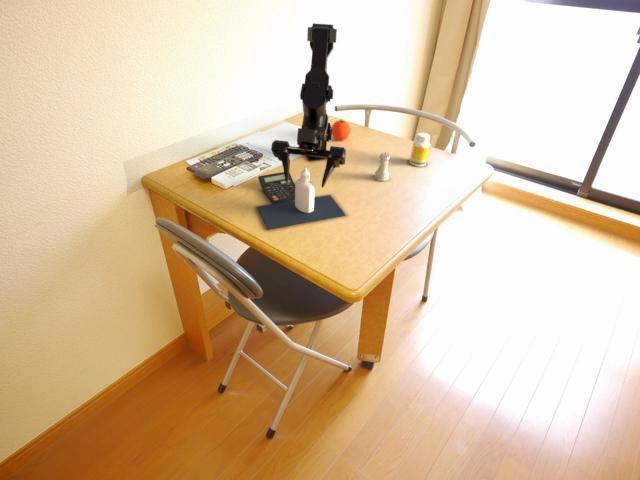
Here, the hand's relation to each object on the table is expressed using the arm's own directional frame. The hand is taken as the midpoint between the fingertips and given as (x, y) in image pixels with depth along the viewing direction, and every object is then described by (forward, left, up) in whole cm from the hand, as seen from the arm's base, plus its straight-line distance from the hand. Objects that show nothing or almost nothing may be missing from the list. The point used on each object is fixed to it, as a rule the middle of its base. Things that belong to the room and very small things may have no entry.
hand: (304, 184), depth 103 cm
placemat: (+1, 0, -8) cm, 8 cm away
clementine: (-29, -42, -8) cm, 52 cm away
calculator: (+3, -12, -8) cm, 14 cm away
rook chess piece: (-29, -11, -8) cm, 32 cm away
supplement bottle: (-46, -17, -8) cm, 50 cm away
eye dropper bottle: (0, -1, -8) cm, 8 cm away
